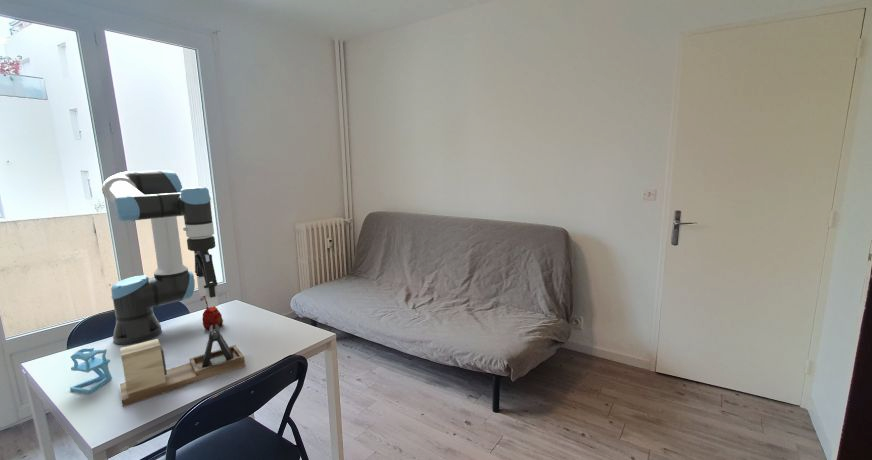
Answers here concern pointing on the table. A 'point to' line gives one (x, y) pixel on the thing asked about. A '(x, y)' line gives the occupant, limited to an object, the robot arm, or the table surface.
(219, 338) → the dark grey a-frame stand
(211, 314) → the red clay folk toy
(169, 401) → the table surface
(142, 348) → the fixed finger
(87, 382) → the chair
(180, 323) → the table surface
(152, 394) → the wooden desk organizer
